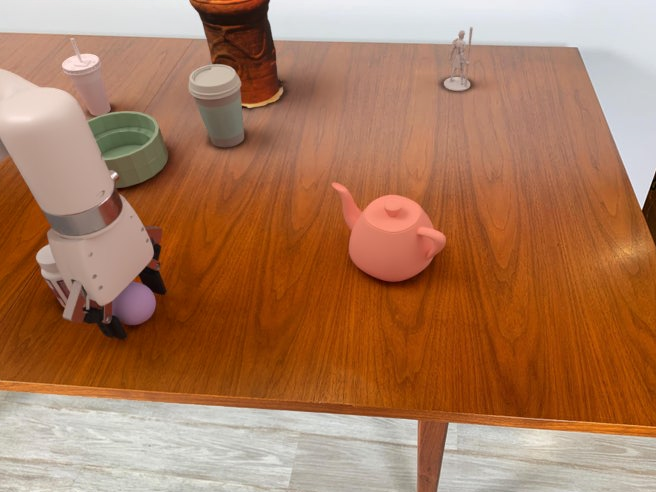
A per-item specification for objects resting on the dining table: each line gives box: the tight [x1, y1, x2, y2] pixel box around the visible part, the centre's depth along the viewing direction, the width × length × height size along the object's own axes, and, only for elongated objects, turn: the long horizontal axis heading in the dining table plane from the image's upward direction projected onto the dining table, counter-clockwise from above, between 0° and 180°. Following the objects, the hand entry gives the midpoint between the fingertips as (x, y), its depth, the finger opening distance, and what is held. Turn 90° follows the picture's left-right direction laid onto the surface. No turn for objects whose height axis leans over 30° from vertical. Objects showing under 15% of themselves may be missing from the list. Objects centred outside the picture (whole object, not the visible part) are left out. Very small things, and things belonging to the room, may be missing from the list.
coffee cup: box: [188, 64, 245, 148], centre depth 99 cm, size 9×8×12 cm
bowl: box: [86, 110, 169, 189], centre depth 96 cm, size 14×14×6 cm
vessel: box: [188, 0, 284, 109], centre depth 107 cm, size 14×14×20 cm
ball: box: [112, 281, 157, 326], centre depth 74 cm, size 6×6×6 cm
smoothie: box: [61, 37, 112, 117], centre depth 105 cm, size 6×6×14 cm
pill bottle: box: [35, 243, 86, 309], centre depth 75 cm, size 5×5×8 cm
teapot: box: [331, 182, 447, 283], centre depth 80 cm, size 12×18×10 cm
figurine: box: [443, 26, 474, 92], centre depth 111 cm, size 5×5×12 cm
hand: (136, 311), depth 75 cm, fingers open, 7 cm apart
